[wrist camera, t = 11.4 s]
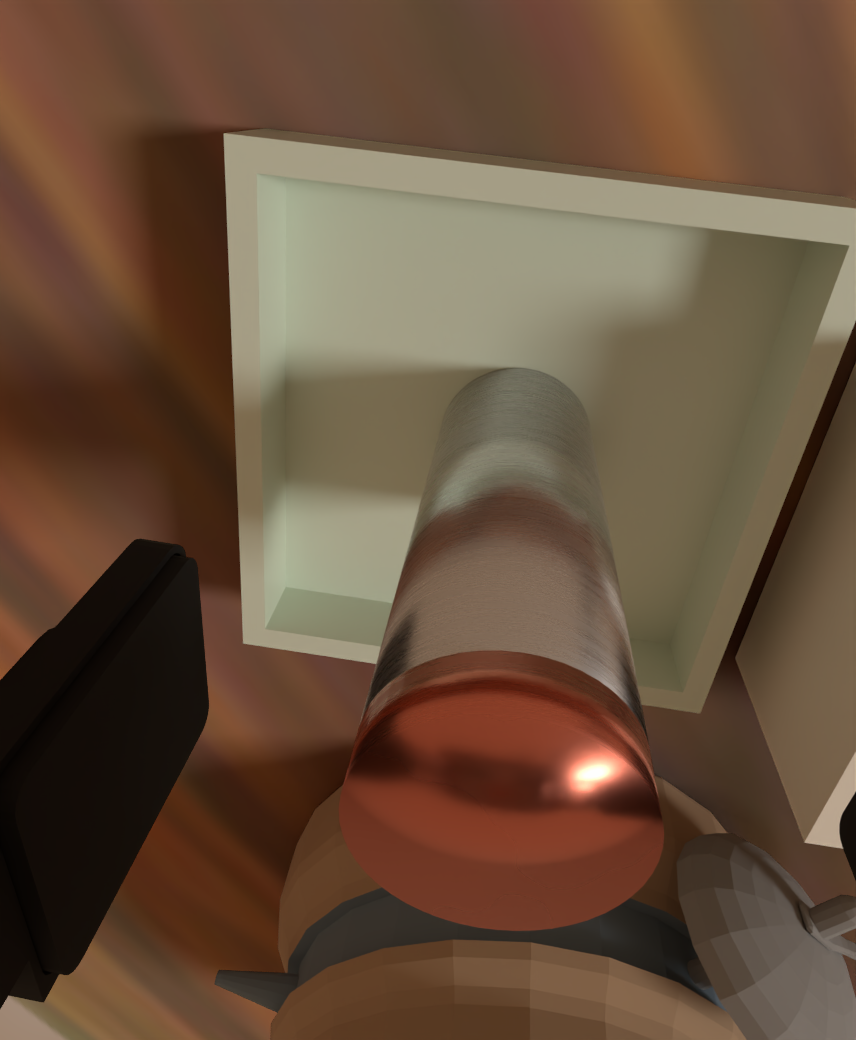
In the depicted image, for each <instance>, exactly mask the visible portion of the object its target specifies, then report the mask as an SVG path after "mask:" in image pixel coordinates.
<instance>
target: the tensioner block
mask: <svg viewBox="0 0 856 1040" xmlns="http://www.w3.org/2000/svg"><path fill="white" fill-rule="evenodd" d="M735 659H736V662H737V665H738V667H739V670H740V673H741V675H742V678H743V681H744V683H745V686H746V689H747V691H748V694H749V697H750V699H751V702H752V705H753V707H754V710H755V713H756V715H757V718H758V721H759V723H760V726H761V729H762V731H763V734H764V736H765V739H766V742H767V744H768V747H769V750H770V752H771V755H772V758H773V760H774V763H775V766H776V768H777V771H778V774H779V776H780V779H781V782H782V784H783V787H784V790H785V792H786V795H787V798H788V800H789V803H790V806H791V808H792V811H793V814H794V816H795V819H796V822H797V824H798V827H799V829H800V832H801V835H802V837H803V840H804V842H805V843H811V844H817V845H823V846H830V847H836V848H842V849H843V847H842V844H841V840H840V834H839V824H840V819H841V816H842V814H843V812H844V810H845V808H846V807H847V805H848V803H849V802H850V800H851V798H852V797H853V795H854V794H855V792H856V363H855V365H854V368H853V370H852V373H851V375H850V377H849V380H848V382H847V385H846V387H845V390H844V392H843V395H842V397H841V399H840V402H839V404H838V407H837V409H836V412H835V414H834V417H833V419H832V422H831V424H830V426H829V429H828V431H827V434H826V436H825V439H824V441H823V444H822V446H821V449H820V451H819V453H818V456H817V458H816V461H815V463H814V466H813V468H812V471H811V473H810V476H809V478H808V480H807V483H806V485H805V488H804V490H803V493H802V495H801V498H800V500H799V502H798V505H797V507H796V510H795V512H794V515H793V517H792V520H791V522H790V525H789V527H788V529H787V532H786V534H785V537H784V539H783V542H782V544H781V547H780V549H779V552H778V554H777V556H776V559H775V561H774V564H773V566H772V569H771V571H770V574H769V576H768V578H767V581H766V583H765V586H764V588H763V591H762V593H761V596H760V598H759V601H758V603H757V605H756V608H755V610H754V613H753V615H752V618H751V620H750V623H749V625H748V628H747V630H746V632H745V635H744V637H743V640H742V642H741V645H740V647H739V650H738V652H737V654H736V657H735Z"/></svg>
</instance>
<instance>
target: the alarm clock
mask: <svg viewBox="0 0 856 1040" xmlns="http://www.w3.org/2000/svg"><path fill="white" fill-rule="evenodd" d="M654 776H655V781H656V786H657V792H658V797H659V803H660V808H661V814H662V819H663V827H664V842H663V849H662V853H661V856H660V860H659V862H658V864H657V866H656V868H655V870H654V872H653V874H652V875H651V876H650V878H649V879H648V880H647V882H646V883H645V884H644V886H643V887H641V888H640V889H639V890H638V891H637V892H636V893H635V894H634V895H633V896H632V897H631V898H629V899H628V900H626V901H625V902H623V903H622V904H621V905H619V906H617V907H616V908H614V909H612V910H610V911H608V912H606V913H604V914H602V915H600V916H597V917H595V918H592V919H590V920H587V921H583V922H580V923H576V924H573V925H569V926H563V927H558V928H553V929H544V930H534V931H507V930H493V929H485V928H478V927H473V926H468V925H463V924H459V923H455V922H452V921H448V920H445V919H442V918H439V917H436V916H433V915H431V914H428V913H426V912H423V911H421V910H419V909H417V908H415V907H413V906H411V905H409V904H407V903H405V902H403V901H402V900H400V899H398V898H397V897H395V896H393V895H392V894H390V893H389V892H388V891H386V890H385V889H384V888H382V887H381V886H380V885H378V884H377V883H376V882H375V881H374V880H373V879H372V878H371V877H370V876H369V875H368V874H367V873H366V872H365V871H364V870H363V869H362V868H361V866H360V865H359V864H358V863H357V862H356V860H355V858H354V857H353V855H352V854H351V852H350V851H349V849H348V847H347V844H346V842H345V840H344V837H343V835H342V831H341V827H340V823H339V802H340V795H341V791H342V788H343V785H342V786H341V787H340V788H339V789H337V790H336V791H335V792H334V793H333V794H332V795H331V796H329V797H328V798H327V799H326V800H325V801H324V802H323V803H322V804H320V805H319V806H318V807H317V808H316V809H315V810H314V812H313V814H312V816H311V818H310V820H309V822H308V824H307V826H306V828H305V829H304V831H303V833H302V835H301V837H300V839H299V841H298V843H297V845H296V848H295V852H294V855H293V858H292V861H291V865H290V868H289V871H288V875H287V878H286V881H285V884H284V888H283V891H282V894H281V898H280V909H279V931H278V951H279V954H280V957H281V961H282V964H283V967H284V971H285V973H274V972H252V971H231V970H219V971H218V973H217V976H216V980H215V985H217V986H220V987H222V988H224V989H226V990H228V991H231V992H233V993H235V994H237V995H240V996H242V997H244V998H246V999H248V1000H251V1001H253V1002H255V1003H257V1004H260V1005H262V1006H264V1007H266V1008H268V1009H271V1010H273V1011H275V1012H277V1015H276V1016H275V1018H274V1019H273V1021H272V1023H271V1035H270V1040H856V998H855V994H854V991H853V987H852V984H851V980H850V976H849V973H848V969H847V966H846V963H845V961H844V959H843V956H842V954H844V955H846V956H848V957H850V958H852V959H854V960H856V944H855V943H853V942H851V941H849V940H846V939H844V938H843V937H842V936H840V935H841V934H843V933H845V932H848V931H850V930H853V929H855V928H856V897H853V896H849V895H840V896H837V897H835V898H833V899H830V900H828V901H826V902H823V903H821V904H819V905H817V906H815V905H814V903H813V902H812V901H811V899H810V898H809V897H808V895H807V894H806V893H805V891H804V890H803V889H802V887H801V886H800V885H799V883H798V882H797V881H796V880H795V879H794V878H793V877H792V876H791V875H790V874H789V873H788V872H787V871H786V870H785V869H784V868H782V867H781V866H780V865H779V864H778V863H777V862H776V861H775V860H774V859H773V858H772V857H771V856H770V855H769V854H768V853H767V852H765V851H764V850H762V849H760V848H758V847H756V846H755V845H753V844H751V843H749V842H747V841H746V840H744V839H742V838H740V837H738V836H736V835H735V834H733V833H727V832H726V831H725V830H724V828H723V827H722V826H721V825H720V823H719V822H718V821H717V820H716V818H715V817H714V816H713V815H712V813H711V812H710V811H709V810H707V809H706V808H704V807H703V806H701V805H700V804H699V803H697V802H696V801H694V800H693V799H691V798H690V797H688V796H687V795H686V794H684V793H683V792H681V791H680V790H678V789H677V788H675V787H674V786H673V785H671V784H670V783H668V782H667V781H665V780H664V779H662V778H661V777H658V776H656V775H654Z"/></svg>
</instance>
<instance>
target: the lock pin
mask: <svg viewBox="0 0 856 1040" xmlns="http://www.w3.org/2000/svg"><path fill="white" fill-rule="evenodd" d="M339 823H340V827H341V831H342V835H343V837H344V840H345V842H346V844H347V847H348V849H349V851H350V852H351V854H352V855H353V857H354V858H355V860H356V862H357V863H358V864H359V865H360V866H361V868H362V869H363V870H364V871H365V872H366V873H367V874H368V875H369V876H370V877H371V878H372V879H373V880H374V881H375V882H376V883H377V884H378V885H380V886H381V887H382V888H384V889H385V890H386V891H388V892H389V893H390V894H392V895H393V896H395V897H397V898H398V899H400V900H402V901H403V902H405V903H407V904H409V905H411V906H413V907H415V908H417V909H419V910H421V911H423V912H426V913H428V914H431V915H433V916H436V917H439V918H442V919H445V920H448V921H452V922H455V923H459V924H463V925H468V926H473V927H478V928H485V929H493V930H507V931H534V930H544V929H553V928H558V927H563V926H569V925H573V924H576V923H580V922H583V921H587V920H590V919H592V918H595V917H597V916H600V915H602V914H604V913H606V912H608V911H610V910H612V909H614V908H616V907H617V906H619V905H621V904H622V903H623V902H625V901H626V900H628V899H629V898H631V897H632V896H633V895H634V894H635V893H636V892H637V891H638V890H639V889H640V888H641V887H643V886H644V884H645V883H646V882H647V880H648V879H649V878H650V876H651V875H652V874H653V872H654V870H655V868H656V866H657V864H658V862H659V860H660V856H661V853H662V849H663V842H664V827H663V819H662V814H661V808H660V803H659V797H658V792H657V786H656V781H655V776H654V770H653V765H652V759H651V754H650V748H649V743H648V738H647V732H646V727H645V721H644V716H643V710H642V705H641V700H640V694H639V689H638V683H637V678H636V672H635V667H634V662H633V656H632V651H631V645H630V640H629V634H628V629H627V624H626V618H625V613H624V607H623V602H622V596H621V591H620V586H619V580H618V575H617V569H616V564H615V558H614V553H613V548H612V542H611V537H610V531H609V526H608V520H607V515H606V510H605V504H604V499H603V493H602V488H601V482H600V477H599V472H598V466H597V461H596V455H595V450H594V444H593V439H592V434H591V428H590V423H589V419H588V416H587V413H586V411H585V409H584V407H583V405H582V403H581V402H580V400H579V398H578V397H577V396H576V395H575V394H574V392H573V391H572V390H571V389H570V388H569V387H567V386H566V385H565V384H564V383H562V382H561V381H559V380H558V379H556V378H555V377H553V376H551V375H548V374H546V373H543V372H540V371H537V370H532V369H527V368H505V369H500V370H495V371H492V372H489V373H486V374H484V375H482V376H480V377H478V378H476V379H474V380H473V381H471V382H470V383H468V384H467V385H466V386H465V387H463V388H462V389H461V390H460V391H459V392H458V394H457V395H456V396H455V397H454V398H453V400H452V401H451V403H450V404H449V406H448V408H447V410H446V412H445V415H444V418H443V421H442V425H441V428H440V432H439V436H438V439H437V443H436V447H435V450H434V454H433V458H432V461H431V465H430V469H429V472H428V476H427V480H426V483H425V487H424V491H423V494H422V498H421V502H420V505H419V509H418V513H417V516H416V520H415V524H414V527H413V531H412V535H411V538H410V542H409V546H408V549H407V553H406V557H405V560H404V564H403V568H402V571H401V575H400V579H399V582H398V586H397V590H396V593H395V597H394V601H393V604H392V608H391V612H390V615H389V619H388V623H387V626H386V630H385V634H384V637H383V641H382V645H381V648H380V652H379V656H378V659H377V663H376V667H375V670H374V674H373V678H372V681H371V685H370V689H369V692H368V696H367V700H366V703H365V707H364V711H363V714H362V718H361V722H360V725H359V729H358V733H357V736H356V740H355V744H354V747H353V751H352V755H351V758H350V762H349V766H348V769H347V773H346V777H345V780H344V784H343V788H342V791H341V795H340V802H339Z"/></svg>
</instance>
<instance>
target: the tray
mask: <svg viewBox="0 0 856 1040" xmlns="http://www.w3.org/2000/svg"><path fill="white" fill-rule="evenodd" d="M224 156H225V182H226V208H227V234H228V260H229V286H230V312H231V338H232V364H233V390H234V416H235V442H236V468H237V493H238V519H239V545H240V571H241V597H242V623H243V643H244V644H250V645H257V646H263V647H270V648H276V649H283V650H289V651H296V652H302V653H309V654H316V655H322V656H329V657H335V658H342V659H348V660H355V661H361V662H368V663H374V664H376V663H377V659H378V656H379V652H380V648H381V645H382V641H383V637H384V634H385V630H386V626H387V623H388V619H389V615H390V612H391V608H392V604H393V601H394V597H395V593H396V590H397V586H398V582H399V579H400V575H401V571H402V568H403V564H404V560H405V557H406V553H407V549H408V546H409V542H410V538H411V535H412V531H413V527H414V524H415V520H416V516H417V513H418V509H419V505H420V502H421V498H422V494H423V491H424V487H425V483H426V480H427V476H428V472H429V469H430V465H431V461H432V458H433V454H434V450H435V447H436V443H437V439H438V436H439V432H440V428H441V425H442V421H443V418H444V415H445V412H446V410H447V408H448V406H449V404H450V403H451V401H452V400H453V398H454V397H455V396H456V395H457V394H458V392H459V391H460V390H461V389H462V388H463V387H465V386H466V385H467V384H468V383H470V382H471V381H473V380H474V379H476V378H478V377H480V376H482V375H484V374H486V373H489V372H492V371H495V370H500V369H505V368H527V369H532V370H537V371H540V372H543V373H546V374H548V375H551V376H553V377H555V378H556V379H558V380H559V381H561V382H562V383H564V384H565V385H566V386H567V387H569V388H570V389H571V390H572V391H573V392H574V394H575V395H576V396H577V397H578V398H579V400H580V402H581V403H582V405H583V407H584V409H585V411H586V413H587V416H588V419H589V423H590V428H591V434H592V439H593V444H594V450H595V455H596V461H597V466H598V472H599V477H600V482H601V488H602V493H603V499H604V504H605V510H606V515H607V520H608V526H609V531H610V537H611V542H612V548H613V553H614V558H615V564H616V569H617V575H618V580H619V586H620V591H621V596H622V602H623V607H624V613H625V618H626V624H627V629H628V634H629V640H630V645H631V651H632V656H633V662H634V667H635V672H636V678H637V683H638V689H639V694H640V700H641V704H642V705H648V706H655V707H661V708H668V709H674V710H681V711H687V712H694V713H701V710H702V708H703V705H704V703H705V700H706V697H707V695H708V692H709V690H710V687H711V685H712V682H713V680H714V677H715V675H716V672H717V670H718V667H719V665H720V662H721V660H722V657H723V655H724V652H725V650H726V647H727V644H728V642H729V639H730V637H731V634H732V632H733V629H734V627H735V624H736V622H737V619H738V617H739V614H740V612H741V609H742V607H743V604H744V602H745V599H746V597H747V594H748V591H749V589H750V586H751V584H752V581H753V579H754V576H755V574H756V571H757V569H758V566H759V564H760V561H761V559H762V556H763V554H764V551H765V549H766V546H767V544H768V541H769V538H770V536H771V533H772V531H773V528H774V526H775V523H776V521H777V518H778V516H779V513H780V511H781V508H782V506H783V503H784V501H785V498H786V496H787V493H788V491H789V488H790V485H791V483H792V480H793V478H794V475H795V473H796V470H797V468H798V465H799V463H800V460H801V458H802V455H803V453H804V450H805V448H806V445H807V443H808V440H809V437H810V435H811V432H812V430H813V427H814V425H815V422H816V420H817V417H818V415H819V412H820V410H821V407H822V405H823V402H824V400H825V397H826V395H827V392H828V390H829V387H830V384H831V382H832V379H833V377H834V374H835V372H836V369H837V367H838V364H839V362H840V359H841V357H842V354H843V352H844V349H845V347H846V344H847V342H848V339H849V337H850V334H851V331H852V329H853V326H854V324H855V321H856V200H853V199H849V198H846V197H841V196H833V195H824V194H816V193H807V192H799V191H791V190H782V189H774V188H765V187H757V186H748V185H740V184H731V183H723V182H715V181H706V180H698V179H689V178H681V177H672V176H664V175H656V174H647V173H639V172H630V171H622V170H613V169H605V168H596V167H588V166H580V165H571V164H563V163H554V162H546V161H537V160H529V159H520V158H512V157H504V156H495V155H487V154H478V153H470V152H461V151H453V150H445V149H436V148H428V147H419V146H411V145H402V144H394V143H385V142H377V141H369V140H360V139H352V138H343V137H335V136H326V135H318V134H310V133H301V132H293V131H284V130H276V129H267V128H264V129H255V130H247V131H238V132H230V133H224Z"/></svg>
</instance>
